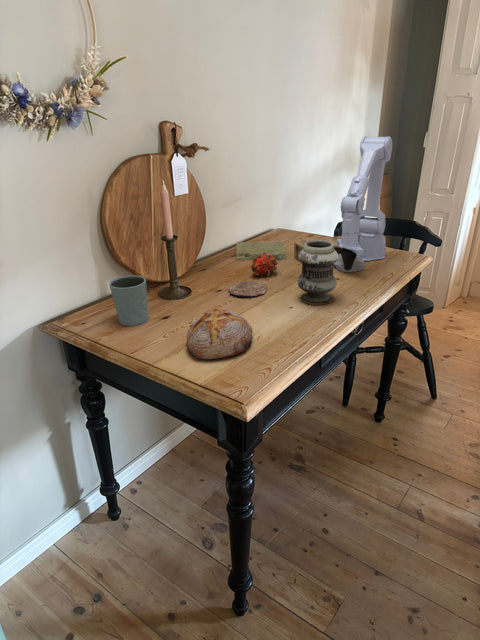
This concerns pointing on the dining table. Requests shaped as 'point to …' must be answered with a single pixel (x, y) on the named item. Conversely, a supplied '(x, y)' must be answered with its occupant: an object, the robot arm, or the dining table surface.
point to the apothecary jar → (317, 271)
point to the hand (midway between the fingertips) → (347, 269)
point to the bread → (219, 335)
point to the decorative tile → (259, 250)
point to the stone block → (357, 266)
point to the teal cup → (130, 299)
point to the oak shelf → (300, 244)
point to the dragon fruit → (264, 264)
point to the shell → (248, 289)
